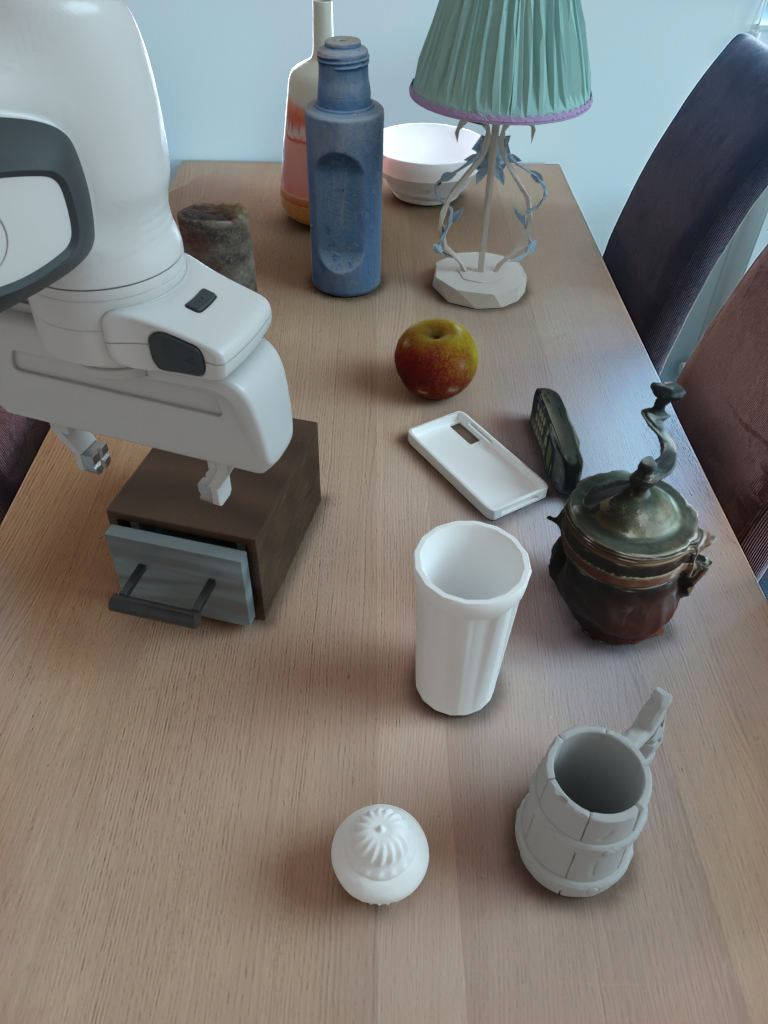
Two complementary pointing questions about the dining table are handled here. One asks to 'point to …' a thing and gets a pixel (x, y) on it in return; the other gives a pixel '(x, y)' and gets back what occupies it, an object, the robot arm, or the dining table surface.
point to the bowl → (425, 160)
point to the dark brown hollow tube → (220, 240)
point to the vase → (302, 119)
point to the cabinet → (233, 506)
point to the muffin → (380, 854)
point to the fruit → (436, 358)
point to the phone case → (477, 466)
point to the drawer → (179, 576)
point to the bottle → (345, 171)
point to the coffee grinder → (630, 543)
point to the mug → (590, 803)
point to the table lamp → (499, 114)
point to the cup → (465, 611)
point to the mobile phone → (556, 440)
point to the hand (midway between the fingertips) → (155, 482)
